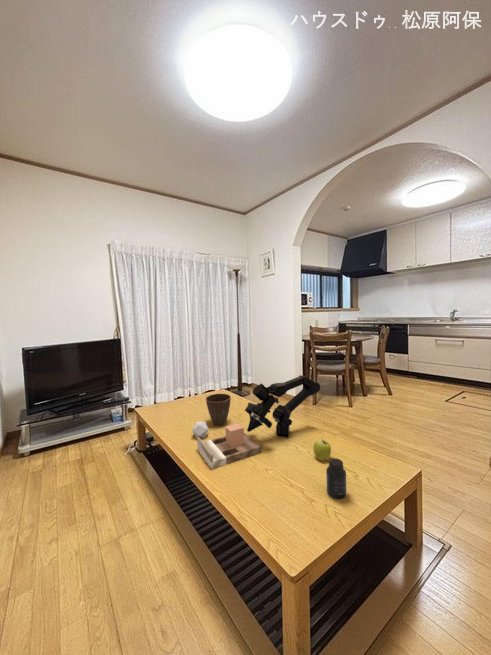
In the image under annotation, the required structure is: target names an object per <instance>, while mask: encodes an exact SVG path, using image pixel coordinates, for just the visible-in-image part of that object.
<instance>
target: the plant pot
mask: <svg viewBox="0 0 491 655" xmlns="http://www.w3.org/2000/svg"><path fill="white" fill-rule="evenodd" d="M231 400H232V396H231V395H230V394H226V393H215V394H210V395H208V396H206V398H205V402H206V407H207V411H208V414H209V417H210V419H211V422H212V424H213V425H214V426H216V427H221V426H224V425H226V423H227V419H228V417H229V416H228V415H229V412H230V407H231Z"/></svg>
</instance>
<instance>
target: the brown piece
mask: <svg viewBox="0 0 491 655" xmlns="http://www.w3.org/2000/svg"><path fill="white" fill-rule="evenodd" d="M196 441H197V450H198V452H199V454H200V455H201V456H202V458H203V459H204V461H205V462H206V463H207V465H208V467H209V468H210V469H211V470H213V469H217V468H220V467H223V466H225V465H228V464H232V463H235V462H237V461H241V460H244V459H246V458H250V457H252V456H255V455H259V454H261V453H262V446H261V445H260V444H258V442H257V441H255V440H253V438H251V437H250V436H249V435H248V434H246V432H244V444H242V445H239V446H236V447H232V448H231V447H230V446H229V445H228V444H227V443H226V435H223V436H220V437H216V438H212V439H209V440H206V441H203V440H202V438H199V437H198V438H196Z"/></svg>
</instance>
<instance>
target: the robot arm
mask: <svg viewBox="0 0 491 655" xmlns="http://www.w3.org/2000/svg"><path fill="white" fill-rule="evenodd" d="M300 386H302V389H301V390H300V391H299V392H297V393H296V395H295V396H293V397H292V398H291V399H290V400H289V401H288V402H287V403H285V404H284V405H282V404H279V402H280V401H279V398H281V397H282V396H284V395H286V394H287V392H288V391H290V390H292V389H295V388H297V387H298V388H299V387H300ZM320 390H321V385H320V383H319V382H318V381H317V382H316V381H314V380H312V379H310V378H309V377H308V376H306V375H299V376H297V377H293V378H292V379H289V380H286V381H284V382H274V383H272V384H270V385H269V386H265V385H264V384H263V383H260V384H257V385H256V386H255V387H253V389H252V394H253V395H254V396H255V397H256V398H257V399H258V400H259V401H261V402H258V403H253V402H248V403H247V406H246V408H245V409H244V411H245V412H246V413H247V414H248V415H249V423H248V426H247V429H246V430H247V432H248V433H250V432H252V431H254V430H256V429H257V428H259V427H261V426H262V427H263V426H264V425H265V426H266V428H269V429H271V427H272V426H273V422H272V421H270V420H269V419H268V417H266V416H267V415H268V413H269V414H270V413H271V409H272V407H273V405H275V404H277V407H275V408H274V410H273V411H272V418H273V419H274V421H275V422H276V426H275V434H276V437H283V438H289V437H290V435H291V433H292V432H291V431H290V430H291V428H290V426H292V423H293V420H292V419H291V414H292V412H293V411H294V410H296V409H297V407H299V406H300V405H301V404H302V403H303V402H304V401H305V400H306V399H307V398H308V397H310V396H314V395H316V394H317V393H319V392H320ZM278 404H279V405H278Z"/></svg>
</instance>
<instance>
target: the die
mask: <svg viewBox="0 0 491 655" xmlns="http://www.w3.org/2000/svg"><path fill="white" fill-rule="evenodd" d="M191 431H192V433H193V436H194V438H195V439H197V438H198V437H199V438H200V439H204V438H206V436H207V434H208V431H209V427H208V425H207V422H206V421H195V423H194V425H193V426H192V430H191Z"/></svg>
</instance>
